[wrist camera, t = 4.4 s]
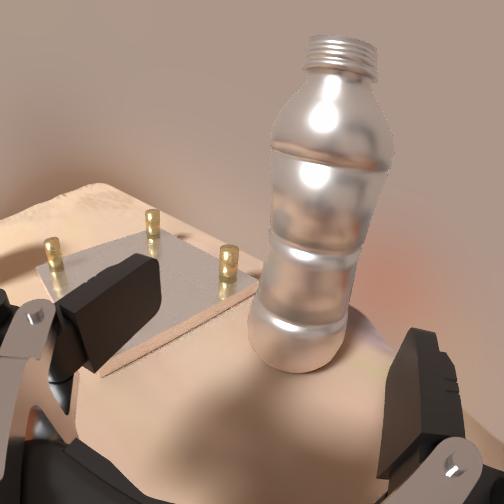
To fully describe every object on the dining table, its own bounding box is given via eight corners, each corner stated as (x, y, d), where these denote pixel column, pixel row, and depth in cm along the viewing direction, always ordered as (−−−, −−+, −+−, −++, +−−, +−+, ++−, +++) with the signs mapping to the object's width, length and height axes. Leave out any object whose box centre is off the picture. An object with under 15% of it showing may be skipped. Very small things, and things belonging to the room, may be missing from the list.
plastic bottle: (270, 313, 25) (304, 54, 17) (346, 343, 22) (408, 68, 14) (226, 358, 20) (253, 26, 11) (316, 400, 17) (401, 34, 9)
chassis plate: (257, 291, 28) (262, 250, 26) (100, 378, 17) (84, 330, 15) (158, 236, 37) (157, 203, 35) (37, 276, 26) (29, 239, 24)
